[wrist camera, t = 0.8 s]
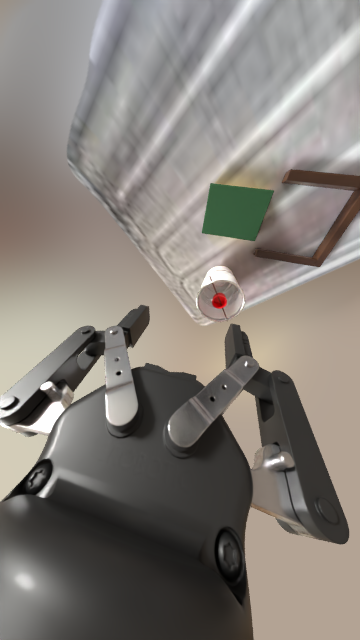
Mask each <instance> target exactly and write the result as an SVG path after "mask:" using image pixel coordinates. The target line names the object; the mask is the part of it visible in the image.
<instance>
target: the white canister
mask: <svg viewBox="0 0 360 640" xmlns="http://www.w3.org/2000/svg"><path fill="white" fill-rule="evenodd" d="M244 304H245V296H244V293H243V291H242V289H241V288H240V287H239V285H238V282H237V280H236V278H235V277H234V275H233V273H232V271H231V270H230V269H229V268H227V267H225V266H216V267H214V268H212V269H211V270H209V271H208V273H207V274H206V277H205V279H204V281H203V284H202V286H201V289H200V291H199V292H198V294H197V298H196V306H197V309H198V311H199V312H200V314H201V315H202V316H203V317H205V318H206V319H208V320H211V321H214V322H224V321H228V320H231V319H233V318H235V317H236V316H237V315H238V314H239V313H240V312H241V311H242V309H243V307H244Z"/></svg>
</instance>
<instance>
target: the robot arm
mask: <svg viewBox="0 0 360 640" xmlns="http://www.w3.org/2000/svg"><path fill="white" fill-rule="evenodd" d="M149 320H150V316H149V306H144V305H140V306H139V307H138V309H133V310H131V311H130V312H129V313H128V315H126V316H125V317H124V318H123V320H122V321H121V322H120V323H119V324H118V325H117V326H112V327H109V328H107V329H106V330H105V331H95V328H94V327H92V326H84V327H81V328H79V329H78V330H76V331H75V332H74V333H73V334H72V335H71V336H70V337H68V338H67V339H66V340H65V341H64V342H63V343H62V344H60V345H59V346H58V347H57V348H56V349H55V350H54V351H53V352H52V353H50V354H49V355H48V356H47V357H46V358H44V359H43V360H42V361H41V362H40V363H39V364H38V365H37V366H35V367H34V368H33V369H32V370H31V371H30V372H29V373H28V374H26V375H25V376H24V377H23V378H22V379H21V380H19V381H18V382H17V383H16V384H15V385H14V386H13V387H11V388H10V389H9V390H8V391H7V392H6V393H4V394H3V395H2V396H1V397H0V424H1V425H2V426H4V427H6V428H8V429H10V430H12V431H14V432H16V433H21V434H22V435H24V436H27V437H31V436H34V435H37V434H38V433H39V434H43V435H47V436H48V439H47V442H46V444H45V447H44V449H43V451H42V453H41V455H40V457H39V459H38V461H37V462H36V464H35V465H34V467H33V468H32V469H31V471H30V472H29V473H28V474H27V475H26V476H25V477H24V479H23V480H22V481H21V482H20V483H19V484H18V485H17V486H16V487H15V488H14V489H13V490H12V491H11V492H10V493H9V494H8V495H7V496H6V497H5V498H4V499H3V500H2V501H1V502H0V640H253V627H252V616H251V605H250V596H249V587H248V579H247V570H246V563H245V543H244V542H245V529H246V522H247V516H248V513H249V509H250V507H253V508H255V509H257V510H260V511H262V512H264V513H266V514H268V515H271V516H273V517H275V518H276V520H277V521H278V523H279V524H280V525H281V527H282V528H283V529H284V530H286V531H287V532H289V533H292V534H297V535H301V536H306V537H310V538H315V539H319V540H323V541H328V542H332V543H337V544H345V543H346V542H347V541H348V538H349V528H348V524H347V520H346V518H345V515H344V513H343V510H342V507H341V505H340V502H339V499H338V497H337V495H336V492H335V489H334V486H333V484H332V481H331V479H330V476H329V473H328V471H327V468H326V466H325V463H324V460H323V458H322V455H321V453H320V450H319V447H318V445H317V442H316V440H315V437H314V434H313V432H312V429H311V427H310V424H309V422H308V419H307V416H306V414H305V411H304V409H303V406H302V404H301V401H300V398H299V395H298V393H297V390H296V388H295V385H294V383H293V381H292V379H291V378H290V377H289V376H288V375H287V374H285V373H284V372H281V371H278V370H276V371H273V372H272V373H270V372H268V371H266V370H264V369H262V368H261V367H259V364H258V363H257V361H256V360H255V359H253V356H252V352H251V348H250V345H249V340H248V336H247V335H246V334H245V332H243V331H241V330H240V325H236V324H230V327H229V329H228V332H227V334H226V337H225V358H226V369H224V370H223V371H222V372H221V373H220V374H219V375H218V376H217V377H216V378H214V379H213V380H212V381H211V382H210V383H209V384H208V385H207V386H203V384H201V383H200V382H199V381H197V380H196V375H191V374H188V373H184V372H182V373H181V372H180V373H179V372H168V371H167V370H165V369H163V368H161V367H159V366H156V365H153V364H149V363H146V364H145V366H144V367H137V368H134V369H131V367H130V363H129V357H128V353H127V348H128V347H132V348H133V347H134V345H135V344H136V342H137V341H138V339H139V338H140V336H141V335H142V333H143V332H144V330H145V329H146V327H147V326H148V324H149ZM83 350H84V351H83ZM82 351H83V352H82ZM81 352H82V353H81ZM80 353H81V354H80ZM79 354H80V355H79ZM78 355H79V357H78ZM101 355H104V357H105V378H106V384H105V385H103V386H101V387H100V388H98V389H97V390H95V391H93V392H91V393H90V394H88V395H86V396H84V397H82V398H81V399H79V400H77V401H76V402H74V403H72V404H71V402H72V400H73V397H74V394H73V392H74V391H75V389H76V388H77V386H78V385H79V384H80V383H81V381H82V380H83V379H84V377H85V376H86V375H87V373H88V372H89V371H90V370H91V368H92V367H93V365H94V364H95V363H96V362H97V360H98V359H99V358H100V356H101ZM243 389H244V390H246V391H247V392H249V393H251V394H252V395H255V400H256V407H257V414H258V421H259V428H260V436H261V443H262V448H260V449H258V450H257V451H256V453H255V460H254V461H255V462H254V466H253V468H252V469H250V466H249V464H248V461H247V459H246V457H245V455H244V453H243V451H242V450H241V448H240V446H239V444H238V443H237V441H236V439H235V437H234V436H233V434H232V432H231V430H230V428H229V427H228V425H227V423H226V422H225V420H224V418H223V416H222V415H223V414H224V412H225V411H226V410H227V409H228V407H229V406H230V405H231V404H232V403H233V401H234V400H235V399H236V398H237V396H238V395H239V394H240V393H241V392H242V390H243Z"/></svg>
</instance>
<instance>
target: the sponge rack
mask: <svg viewBox="0 0 360 640" xmlns="http://www.w3.org/2000/svg"><path fill="white" fill-rule="evenodd" d="M282 183H288V184H298V185H307V186H316V187H325V188H334V189H344V190H353V191H354V192H353V194H352V195H351V197H350V199H349V200H348V202H347V203H346V205H345V206H344V208H343V210H342V211H341V213H340V214H339V216H338V217H337V219H336V221H335V222H334V224H333V225H332V227H331V228H330V230H329V232H328V233H327V235H326V236H325V238H324V239H323V241H322V243H321V244H320V246H319V247H318V249H317V251H316V252H315V254H314V255H313V257H306V256H300V255H294V254H287V253H281V252H275V251H268V250H262V249H256V250H255V252H254V255H255V256H256V257H262V258H268V259H274V260H280V261H286V262H292V263H298V264H304V265H310V266H316V267H320V266H321V265H322V263H323V262H324V260H325V259H326V257H327V256H328V255H329V253H330V252H331V250H332V249H333V247H334V246H335V244H336V243H337V242H338V240H339V239H340V237H341V236H342V234H343V233H344V231H345V230H346V229H347V227H348V226H349V224H350V223H351V221H352V220H353V218H354V217H355V216H356V214H357V213H358V211H359V210H360V176H354V175H344V174H334V173H323V172H313V171H303V170H293V169H291V170H289V171H288V172H286V174H285V176H284V179H283V181H282Z"/></svg>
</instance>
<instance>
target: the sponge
mask: <svg viewBox="0 0 360 640" xmlns="http://www.w3.org/2000/svg"><path fill="white" fill-rule="evenodd" d="M273 192H274V190H265V189H256V188H247V187H239V186H230V185H221V184H213V183H211V184H210V189H209V195H208V201H207V206H206V212H205V218H204V223H203V229H202V233H205V234H211V235H218V236H224V237H231V238H237V239H244V240H250V241H255V240H256V237H257V234H258V232H259V229H260V226H261V224H262V221H263V219H264V216H265V213H266V211H267V208H268V205H269V203H270V200H271V198H272V195H273Z"/></svg>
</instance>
